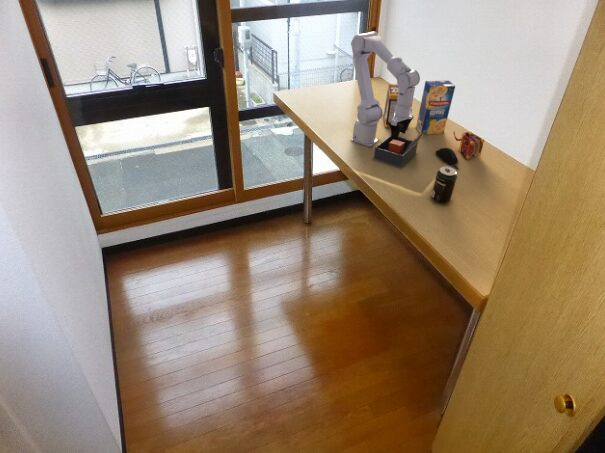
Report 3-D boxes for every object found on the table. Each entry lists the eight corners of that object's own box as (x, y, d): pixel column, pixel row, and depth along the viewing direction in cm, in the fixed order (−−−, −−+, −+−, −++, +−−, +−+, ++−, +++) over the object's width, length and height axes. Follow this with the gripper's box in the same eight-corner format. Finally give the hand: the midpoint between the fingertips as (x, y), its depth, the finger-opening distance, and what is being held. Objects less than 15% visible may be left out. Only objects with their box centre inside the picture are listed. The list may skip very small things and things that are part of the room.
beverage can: (446, 194, 156) (454, 165, 148) (452, 205, 150) (461, 176, 143) (428, 194, 155) (435, 165, 148) (433, 205, 150) (441, 176, 143)
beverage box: (443, 133, 196) (455, 86, 182) (420, 134, 194) (431, 86, 181) (437, 127, 201) (449, 80, 188) (415, 127, 200) (425, 81, 186)
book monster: (482, 157, 178) (455, 161, 176) (471, 148, 185) (445, 151, 183) (487, 134, 172) (460, 137, 170) (476, 125, 179) (449, 128, 177)
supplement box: (404, 115, 210) (410, 84, 201) (407, 129, 198) (413, 96, 189) (383, 114, 211) (388, 83, 201) (385, 127, 199) (390, 95, 189)
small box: (387, 155, 177) (389, 142, 173) (391, 152, 179) (393, 139, 176) (398, 159, 175) (400, 146, 171) (402, 155, 177) (405, 142, 173)
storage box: (389, 145, 185) (391, 134, 181) (415, 154, 179) (417, 142, 176) (373, 159, 175) (375, 147, 172) (400, 168, 170) (402, 156, 166)
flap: (425, 129, 171) (425, 130, 171) (417, 140, 176) (418, 141, 176) (410, 143, 162) (410, 143, 162) (402, 154, 166) (403, 155, 166)
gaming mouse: (450, 170, 170) (453, 161, 167) (432, 152, 181) (434, 144, 179) (464, 168, 171) (467, 159, 169) (446, 151, 182) (448, 142, 180)
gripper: (406, 112, 157) (399, 145, 165) (421, 100, 166) (415, 132, 174) (388, 107, 160) (383, 140, 168) (404, 96, 169) (399, 127, 177)
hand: (398, 136), depth 171 cm, fingers open, 7 cm apart
